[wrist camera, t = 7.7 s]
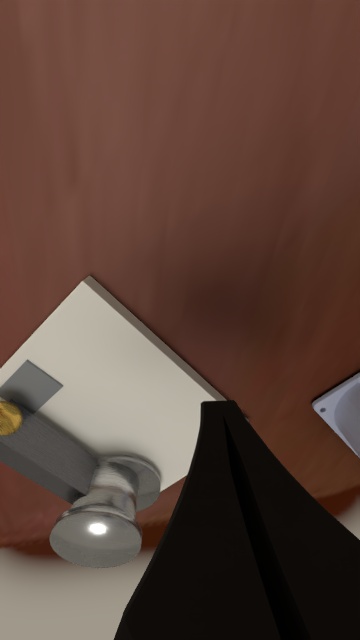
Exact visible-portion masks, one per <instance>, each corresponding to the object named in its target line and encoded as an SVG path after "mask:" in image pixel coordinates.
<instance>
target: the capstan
mask: <svg viewBox="0 0 360 640" xmlns="http://www.w3.org/2000/svg"><path fill="white" fill-rule="evenodd" d="M0 461H1V462H3V463H4V464H6V465H8V466H9V467H11V468H13V469H14V470H16V471H18V472H19V473H21V474H23V475H24V476H26V477H27V478H29V479H31V480H32V481H34V482H36V483H37V484H39V485H41V486H42V487H44V488H46V489H47V490H49V491H51V492H52V493H54V494H56V495H57V496H59V497H61V498H62V499H64V500H66V501H67V502H69V503H71V504H72V506H71V509H70V510H68V511H66V512H64V513H63V514H61V515H60V516H59V517H58V518H57V520H56V522H55V524H54V527H53V529H52V532H51V535H50V544H51V546H52V548H53V550H54V551H55V552H56V553H57V554H58V555H59V556H61V557H62V558H64V559H65V560H67V561H69V562H72V563H75V564H77V565H81V566H86V567H93V568H108V567H115V566H119V565H122V564H125V563H127V562H129V561H131V560H132V559H133V558H135V557H136V556H137V554H138V553H139V551H140V548H141V539H142V530H141V527H140V525H139V523H138V522H137V521H136V520H135V514H136V511H140V510H143V509H145V508H147V507H149V506H151V505H152V504H153V503H154V502H155V501H156V500H157V498H158V497H159V494H160V488H161V479H160V476H159V474H158V472H157V470H156V469H155V468H154V467H153V466H152V465H150V464H149V463H148V462H146V461H144V460H142V459H139V458H137V457H133V456H128V455H102V456H98V457H94V456H93V455H91V454H90V453H88V452H87V451H86V450H84V449H83V448H81V447H80V446H78V445H77V444H76V443H74V442H73V441H71V440H70V439H68V438H67V437H66V436H64V435H63V434H61V433H60V432H58V431H57V430H55V429H54V428H53V427H51V426H50V425H48V424H47V423H45V422H44V421H43V420H41V419H40V418H38V417H37V416H35V415H34V414H33V413H31V412H30V411H28V410H27V409H25V408H24V407H23V406H21V405H20V404H18V403H17V402H15V401H14V400H12V399H11V400H9V401H8V402H7V401H0Z"/></svg>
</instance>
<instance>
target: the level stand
mask: <svg viewBox="0 0 360 640" xmlns="http://www.w3.org/2000/svg"><path fill="white" fill-rule="evenodd" d="M11 399H12V400H14V401H15V402H17V403H18V404H20V405H21V406H23V407H24V408H25V409H27V410H28V411H30V412H31V413H33V414H34V415H35V416H37V417H38V418H40V419H41V420H43V421H44V422H45V423H47V424H48V425H50V426H51V427H53V428H54V429H55V430H57V431H58V432H60V433H61V434H63V435H64V436H66V437H67V438H68V439H70V440H71V441H73V442H74V443H76V444H77V445H78V446H80V447H81V448H83V449H84V450H86V451H87V452H88V453H90V454H91V455H93V456H94V457H98V456H102V455H128V456H133V457H137V458H139V459H142V460H144V461H146V462H148V463H149V464H150V465H152V466H153V467H154V468H155V469H156V470H157V472H158V474H159V476H160V479H161V488H160V492H161V491H162V490H164V489H166V488H167V487H169V486H170V485H172V484H173V483H175V482H177V481H178V480H180V479H181V478H183V477H184V476H186V475H187V474H188V471H189V468H190V465H191V461H192V458H193V454H194V451H195V447H196V443H197V438H198V433H199V428H200V410H201V403H202V402H203V401H227V400H226V399H225V398H224V397H223V396H222V395H221V394H220V393H219V392H217V391H216V390H215V389H214V388H213V387H212V386H211V385H210V384H209V383H208V382H206V381H205V380H204V379H203V378H202V377H201V376H200V375H199V374H198V373H197V372H196V371H194V370H193V369H192V368H191V367H190V366H189V365H188V364H187V363H186V362H185V361H183V360H182V359H181V358H180V357H179V356H178V355H177V354H176V353H175V352H174V351H172V350H171V349H170V348H169V347H168V346H167V345H166V344H165V343H164V342H163V341H162V340H160V339H159V338H158V337H157V336H156V335H155V334H154V333H153V332H152V331H151V330H149V329H148V328H147V327H146V326H145V325H144V324H143V323H142V322H141V321H140V320H138V319H137V318H136V317H135V316H134V315H133V314H132V313H131V312H130V311H129V310H128V309H126V308H125V307H124V306H123V305H122V304H121V303H120V302H119V301H118V300H117V299H115V298H114V297H113V296H112V295H111V294H110V293H109V292H108V291H107V290H106V289H105V288H103V287H102V286H101V285H100V284H99V283H98V282H97V281H96V280H95V279H94V278H92V277H91V276H88V277H87V278H86V279H84V280H83V281H82V282H81V283H80V284H79V285H78V286H77V287H76V288H75V289H74V290H73V292H72V293H71V294H70V295H69V296H68V297H67V298H66V299H65V300H64V301H63V302H62V303H61V304H60V305H59V307H58V308H57V309H56V310H55V311H54V312H53V313H52V314H51V315H50V316H49V317H48V318H47V319H46V320H45V322H44V323H43V324H42V325H41V326H40V327H39V328H38V329H37V330H36V331H35V332H34V333H33V334H32V335H31V337H30V338H29V339H28V340H27V341H26V342H25V343H24V344H23V345H22V346H21V347H20V348H19V349H18V350H17V352H16V353H15V354H14V355H13V356H12V357H11V358H10V359H9V360H8V361H7V362H6V363H5V364H4V366H3V367H2V368H1V369H0V401H7V402H8V401H9V400H11ZM246 419H247V418H246ZM247 420H248V419H247ZM248 422H249V421H248Z"/></svg>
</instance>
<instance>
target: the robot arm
mask: <svg viewBox="0 0 360 640" xmlns="http://www.w3.org/2000/svg"><path fill="white" fill-rule="evenodd" d="M312 407H313V408H314V410H315V411H316V412H317V413H318V414H319V415H320V416H321V417H322V418H323V419H324V421H325V422H326V423H327V424H328V425H329V426H330V427H331V428H332V429H333V430H334V431H335V432H336V433H337V434H338V435H339V437H340V438H341V439H342V440H343V441H344V442H345V443H346V444H347V445H348V446H349V447H350V448H351V449H352V450H353V451H354V452H355V454H356V455H357V456H358V457H359V458H360V373H358V374H356V375H355V376H353V377H352V378H350V379H348V380H347V381H345V382H344V383H342V384H340V385H339V386H337V387H336V388H334V389H332V390H331V391H329V392H328V393H326V394H325V395H323V396H321V397H320V398H318V399H317V400H315V401H314V402H313V403H312ZM321 408H322V409H321ZM114 640H360V540H359V539H358V538H357V537H356V536H354V535H353V534H352V533H351V532H350V531H349V530H348V529H347V528H346V527H344V526H343V525H342V524H341V523H340V522H339V521H337V519H336V518H334V517H333V516H332V515H331V514H330V513H329V512H328V511H327V510H325V509H324V508H323V507H322V506H321V505H320V504H319V503H318V502H317V501H316V500H315V499H314V498H313V497H312V496H311V495H310V494H309V493H308V492H307V491H306V490H305V489H304V488H303V487H302V486H301V485H300V484H299V482H298V481H297V480H296V479H295V478H294V477H293V476H292V475H291V474H290V473H289V472H288V471H287V469H286V468H285V467H284V466H283V465H282V464H281V463H280V461H279V460H278V459H277V458H276V457H275V456H274V454H273V453H272V452H271V451H270V449H269V448H268V447H267V446H266V444H265V443H264V442H263V441H262V439H261V438H260V437H259V435H258V434H257V433H256V431H255V430H254V429H253V427H252V426H251V425H250V423H249V422H248V420H247V419H246V417H245V416H244V414H243V413H242V411H241V410H240V408H239V407H238V405H237V403H236V402H235V401H234V400H228V401H203V402H202V403H201V410H200V428H199V433H198V438H197V443H196V447H195V451H194V454H193V458H192V461H191V465H190V468H189V471H188V474H187V477H186V480H185V483H184V486H183V488H182V491H181V494H180V496H179V499H178V501H177V504H176V506H175V509H174V511H173V514H172V516H171V518H170V521H169V523H168V525H167V527H166V530H165V532H164V534H163V536H162V538H161V540H160V542H159V544H158V546H157V549H156V551H155V553H154V555H153V557H152V559H151V561H150V563H149V565H148V567H147V569H146V571H145V573H144V575H143V577H142V578H141V580H140V582H139V584H138V586H137V588H136V589H135V591H134V593H133V595H132V597H131V599H130V601H129V603H128V604H127V606H126V608H125V610H124V612H123V616H122V619H121V622H120V624H119V627H118V629H117V632H116V635H115V638H114Z"/></svg>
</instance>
